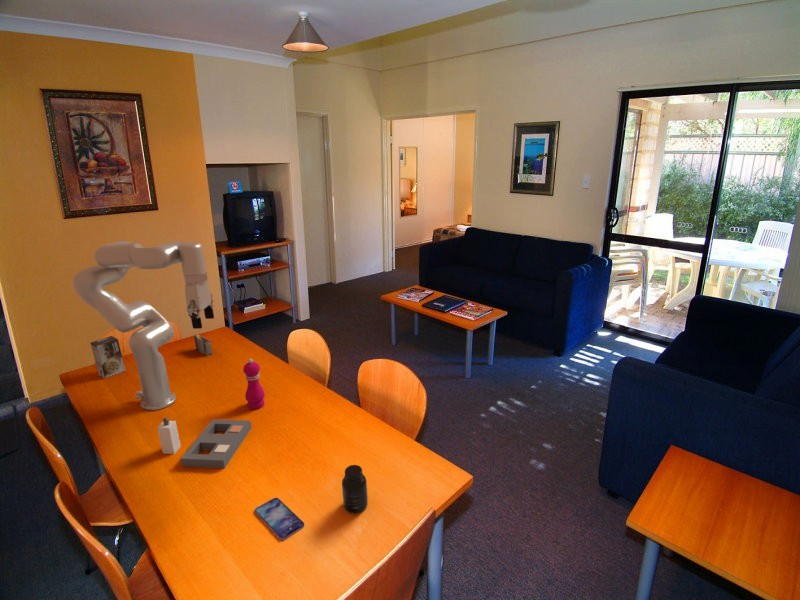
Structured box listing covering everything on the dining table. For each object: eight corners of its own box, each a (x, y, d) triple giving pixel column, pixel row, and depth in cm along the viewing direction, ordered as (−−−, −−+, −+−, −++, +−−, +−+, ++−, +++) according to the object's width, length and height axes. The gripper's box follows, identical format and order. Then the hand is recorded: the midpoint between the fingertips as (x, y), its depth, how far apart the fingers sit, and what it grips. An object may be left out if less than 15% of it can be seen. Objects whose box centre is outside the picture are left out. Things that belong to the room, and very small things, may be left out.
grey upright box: (195, 350, 231) (192, 332, 228) (201, 348, 233) (198, 331, 230) (206, 357, 224) (203, 338, 221) (212, 355, 226) (209, 336, 223)
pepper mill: (268, 400, 184) (263, 355, 177) (261, 410, 177) (255, 363, 171) (251, 400, 184) (245, 354, 178) (243, 409, 178) (237, 363, 171)
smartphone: (276, 496, 133) (306, 524, 123) (276, 499, 133) (306, 527, 123) (253, 509, 128) (281, 539, 118) (253, 512, 128) (282, 542, 118)
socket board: (182, 466, 147) (180, 457, 145) (214, 426, 167) (212, 418, 166) (224, 468, 145) (223, 459, 144) (251, 427, 166) (250, 419, 165)
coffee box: (119, 367, 214) (111, 335, 209) (126, 371, 210) (118, 338, 205) (98, 375, 207) (89, 342, 202) (104, 379, 203) (96, 345, 198)
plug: (162, 453, 153) (156, 422, 149) (169, 446, 157) (163, 415, 153) (174, 453, 153) (168, 422, 149) (180, 446, 156) (174, 415, 153)
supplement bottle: (343, 497, 133) (341, 462, 129) (367, 495, 133) (366, 461, 129) (343, 515, 126) (340, 479, 122) (368, 513, 127) (366, 477, 123)
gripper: (197, 271, 171) (204, 315, 176) (172, 285, 155) (182, 332, 160) (216, 271, 170) (223, 314, 176) (194, 284, 154) (203, 332, 160)
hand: (203, 323), depth 168 cm, fingers open, 9 cm apart
